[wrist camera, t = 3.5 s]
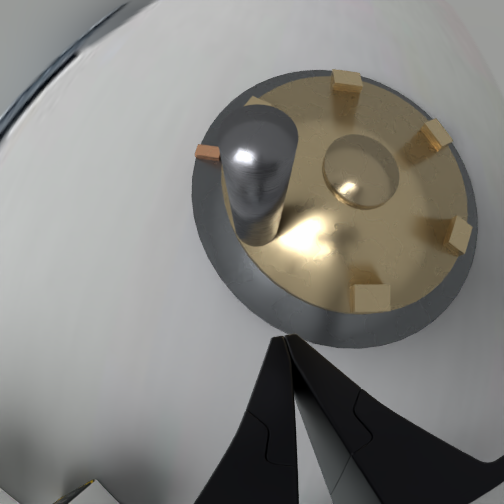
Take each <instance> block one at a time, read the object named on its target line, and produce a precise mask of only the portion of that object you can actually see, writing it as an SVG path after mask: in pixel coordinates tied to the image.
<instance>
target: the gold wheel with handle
mask: <svg viewBox="0 0 504 504" xmlns="http://www.w3.org/2000/svg"><path fill="white" fill-rule="evenodd" d="M217 141H218V146H219V151H220V157H221V162H222V167H221V184H222V191H223V198H224V203H225V207H226V211H227V214H228V217H229V221H230V224H231V226H232V229H233V231H234V233H235V235H236V237H237V239H238V242H239V243H240V245H241V246H242V248H243V249H244V251H245V252H246V254H247V256H248V257H249V258H250V259H251V261H252V262H253V263H254V264H255V265H256V267H257V268H258V269H259V270H260V271H261V272H262V273H263V274H264V275H265V276H266V277H267V278H268V279H270V280H271V281H272V282H273V283H274V284H275V285H277V286H278V287H279V288H281V289H282V290H284V291H285V292H287V293H288V294H290V295H291V296H293V297H295V298H297V299H299V300H301V301H303V302H305V303H307V304H309V305H312V306H315V307H318V308H321V309H323V310H327V311H332V312H337V313H342V314H357V315H363V314H373V313H382V312H388V311H391V310H395V309H399V308H402V307H405V306H407V305H409V304H412V303H414V302H416V301H418V300H419V299H421V298H422V297H424V296H425V295H427V294H428V293H430V292H431V291H432V290H433V289H434V288H436V287H437V286H438V285H439V284H440V283H441V282H442V281H443V279H444V278H445V277H446V276H447V274H448V273H449V272H450V271H451V269H452V267H453V265H454V264H455V262H456V260H457V258H458V257H459V256H461V255H464V254H465V252H466V249H467V245H468V242H469V238H470V235H471V231H472V226H471V225H469V224H468V223H467V217H468V212H467V197H466V191H465V186H464V182H463V178H462V175H461V172H460V169H459V167H458V164H457V162H456V159H455V157H454V156H453V154H452V152H451V150H450V148H449V145H450V144H451V143H452V142H453V140H452V138H451V137H450V136H449V134H448V133H447V132H446V130H445V129H444V128H443V126H442V125H441V124H440V122H439V121H438V120H437V119H433V120H431V121H428V120H427V119H426V118H425V117H424V116H423V115H422V114H421V113H420V112H419V111H418V110H416V109H415V108H414V107H413V106H412V105H410V104H409V103H407V102H406V101H404V100H403V99H401V98H400V97H398V96H397V95H395V94H393V93H391V92H389V91H387V90H385V89H383V88H380V87H378V86H375V85H373V84H370V83H367V82H363V81H362V80H361V76H360V73H357V72H350V71H343V70H335V69H332V73H331V76H320V77H310V78H303V79H299V80H295V81H292V82H288V83H286V84H283V85H281V86H278V87H276V88H274V89H272V90H271V91H269V92H267V93H265V94H264V95H263V96H261V97H260V98H256V97H254V96H252V97H251V98H250V99H249V101H248V102H247V103H246V104H245V105H244V106H243V107H240V108H238V109H236V110H234V111H232V112H231V113H230V114H228V115H227V116H226V117H225V118H224V119H223V121H222V122H221V124H220V126H219V129H218V133H217Z"/></svg>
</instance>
